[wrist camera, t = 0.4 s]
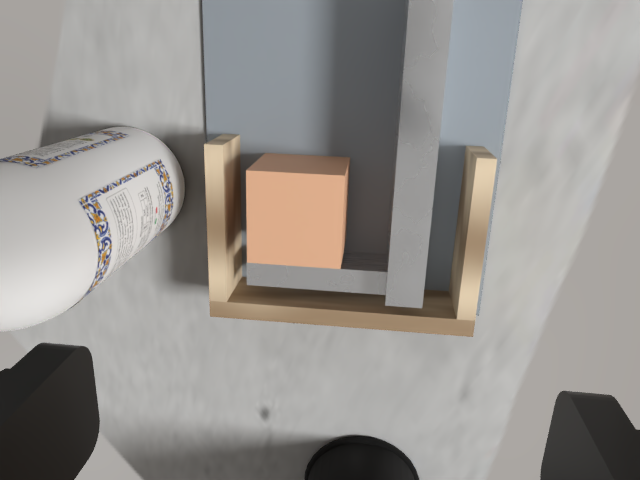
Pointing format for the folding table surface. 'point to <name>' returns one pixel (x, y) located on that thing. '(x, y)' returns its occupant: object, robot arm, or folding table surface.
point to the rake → (396, 176)
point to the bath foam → (79, 217)
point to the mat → (356, 100)
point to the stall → (331, 306)
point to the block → (297, 210)
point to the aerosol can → (360, 461)
